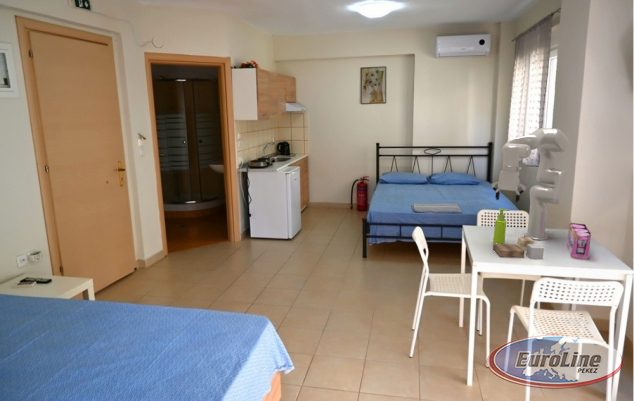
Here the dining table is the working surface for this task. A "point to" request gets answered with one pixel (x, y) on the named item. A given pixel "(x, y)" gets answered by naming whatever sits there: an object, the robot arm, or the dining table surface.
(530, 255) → the grey cube
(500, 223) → the soap dispenser
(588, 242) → the gum box
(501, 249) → the walnut block
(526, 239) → the maple cube
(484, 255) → the dining table surface
